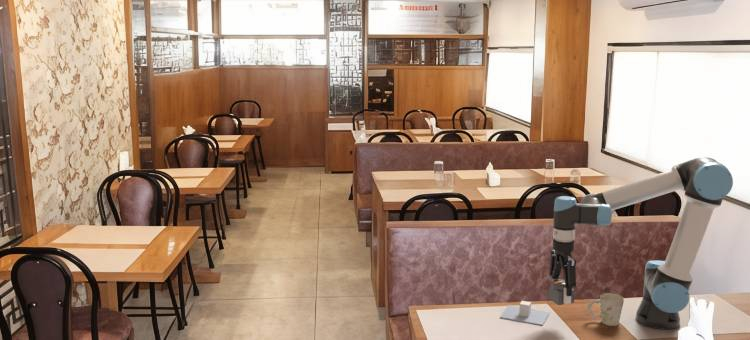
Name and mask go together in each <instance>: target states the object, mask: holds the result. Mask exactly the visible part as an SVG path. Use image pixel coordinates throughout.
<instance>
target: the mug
mask: <svg viewBox="0 0 750 340" xmlns="http://www.w3.org/2000/svg"><path fill="white" fill-rule="evenodd" d="M624 301H625V299H624V297H623V296H622V295H621V294H617V293H609V292H608V293H607V292H606V293H602V294H600V296H599V299H593V300H591V301H589V302H588V304H587V310H586V311H587V312H588V314H589V315H590V316H592V317H594V318H601V319H600V320H601V323H602V324H603V325H605V326H606V325H607V326H610V327H616V326H618V325H620V319H621V315H622V310H623V306H624ZM594 304H599V305H600V314H595V313H594V312H593V311H592V306H593V305H594Z"/></svg>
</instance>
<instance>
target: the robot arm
mask: <svg viewBox="0 0 750 340" xmlns="http://www.w3.org/2000/svg"><path fill="white" fill-rule="evenodd" d="M733 185H734V179H733V175H732V173H731V172H730V170H729V168H727V167H726V165H724V164H723V163H720V162H718V161H717V160H716V159H714V158H711V157H707V156H706V157H705V156H703V157H696V158H693V159H690V160H688V161H685V162H682V163H678V164H676V165H673V166H672V167H671V168H670V170H667V171H664V172H660V173H658V174H654V175H651V176H648V177H644V178H643V179H639V180H636V181H633V182H629V183H626V184H624V185H621V186H618V187H614V188H612V189H608V190H605V191H602V192H600V193H596V194H593V193H589V194H586V195H584V196H582V198H581V201H580V202H579V203H578V202H577V199H576V198H575V197H574V196H568V195H561V196H556V198H555V199H554V206H553V230H552V236H553V237H552V238H553V239H552V250H550V260H549V261H550V262H549V270H548V275H549V276H550V277H551V279H552V281H553V280H556V279H562V277H561V276H560V275H561V272H562V273H563V280H565V286H564V297H563V305H570V304H572V303H571V295H572V289H573V288H576V287H577V277H576V276H577V271H576V270H577V269H576V267H577V266H576V265H577V260H576V259H573V258H572V253H573V251H574V250H575V239H576V225H584V226H599V227H602V226H604V227H605V226H610V225H611V223H612V211H615V210H617V209H618V210H619V209H621V208H624V207H628V206H631V205H634V204H637V203H641V202H644V201H647V200H651V199H654V198H657V197H660V196H663V195H666V194H669V193H670V194H671V193H674V192H676V191H681V192H684V193H683V194H684V196H685V198H686V203H685V205H684V207H683V208H684V209H683V211H682V214H681V216H680V219H679V222H678V225H677V228H676V230H675V233H674V235H673V239H672V241H671V244H670V247H669V249H668V253H667V254H666V258H665V260H648V261H647V262H646V263H645V266H644V267H645V268H644V277H643V279H644V281H643V292H642V299H641V301H640V303H639V306H638V308H637V309H636V312H635V313H636V314H635V319H636V321H637V322H638V323H640V324H642V325H643V326H646V327H647V326H648V327H650V328H653V329H654V328H655V329H659V330H660V329H661V330H671V329H672V328H673V329H677V328H678V327H680V323H681V317H680V313H679V312H681V311H683V310H685V308H687V306H688V305H689V302H690V287H691V285H692V283H693V279H694V278H693V276H692V274H691V271H692V269H693V267H694V263H695V261H696V258H697V255H698V253H699V250H700V247H701V244H702V242H703V239H704V236H705V234H706V231H707V228H708V226H709V223H710V220H711V218H712V215H713V212H714V210H715V209H716V208H719V207H720V206H721V205H722V202H723V200H724V198H725V197H726V196H727V195H728V194H730V193H731V190H732V189H733ZM676 327H677V328H676ZM673 329H672V330H673Z"/></svg>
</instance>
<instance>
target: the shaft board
mask: <svg viewBox="0 0 750 340" xmlns="http://www.w3.org/2000/svg"><path fill="white" fill-rule="evenodd" d="M549 315H550V311H544V310H539V309H532V302H531V301H525V300H521V301H520V303H519V306H516V305H510V304H508V305H507V306H506V308H505V309H504V311H502V314H500V316H499V318H500V319H503V318H504V320H508V321H509V320H510V321H516V322H519V323H520V322H521V323H526V324H532V325H537V326H544V324H545V323H546V320H547V319H548V317H549Z"/></svg>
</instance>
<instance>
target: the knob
mask: <svg viewBox="0 0 750 340" xmlns="http://www.w3.org/2000/svg"><path fill="white" fill-rule="evenodd" d="M564 286H565V280H564V278H563V279H562V278H558V279H556V280H553V279H552V281H551V285H549V286H548V287H549V289H548V299H549V300H550V301H551V302H553V303H555V304H556V305H557V306H560V305H561V306H563V305H564V304H563V297H564ZM575 290H576V289H574V288H572V295H571V304H574V303H575Z"/></svg>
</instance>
